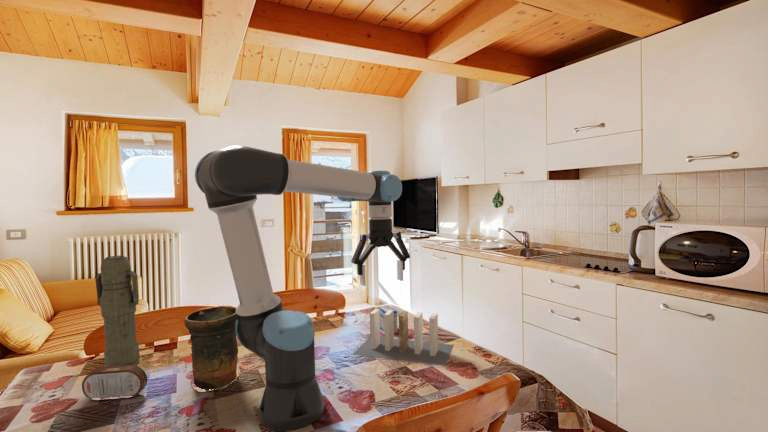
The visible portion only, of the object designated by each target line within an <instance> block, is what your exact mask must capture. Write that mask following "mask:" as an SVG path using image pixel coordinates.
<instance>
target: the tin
mask: <svg viewBox="0 0 768 432" xmlns="http://www.w3.org/2000/svg"><path fill="white" fill-rule="evenodd" d="M81 382H82V383H81V390H82V392H83V394H84V396H85V397H86V398H87V399H89V400H91V399H92V398H109V397H120V396H135V397H136V395H137V396H138V395H139V394H141V392H142V391H143V390H144V389H145V388H146V387H147V383H148V375H147V374H146V372H145V370H144V369H143V368H142V367H140V366H139V367H138V366H134V365H126V366H112V367H106V366H100V367H99V366H98V367H96V368H94V369H92V370H91V371H90V372H89V373H88V374H87V375H86V376H85V377H84V378H83V380H82V381H81Z"/></svg>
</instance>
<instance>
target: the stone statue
mask: <svg viewBox="0 0 768 432" xmlns="http://www.w3.org/2000/svg"><path fill="white" fill-rule="evenodd" d="M131 267H132V265H131V262H130V261H129V259H128V257H127V256H125V255H114V256H113V255H112V256H107V257H105V258H103V259H102V262H101V264H100V269H99V270H100V272H99V273H97V274H96V276H95V287H96V288H95V289H96V296H97V305H98V306H99V307H100V314H101V317H102V318H103V326H104V340H105V348H104V351H103V355H104V365H105V366H104V367H112V366H126V365H134V366H137V365H138V364H139V363H140V357H141V356H140V345H139V342H138V340H137V330H136V328H137V327H136V315H135V313H136V311H137V305H139V297H140V296H139V295H140V294H139V282H138V275H137V272H135V271H133V270H132V268H131Z"/></svg>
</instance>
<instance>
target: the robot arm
mask: <svg viewBox="0 0 768 432" xmlns="http://www.w3.org/2000/svg"><path fill="white" fill-rule="evenodd" d="M194 178H195V179H194V180H195V183H196V185H197V187H198V188H199V189H200V191H201V192H202V193H203V194H204V196H205V200H206V204H207V207H208V210H210V211H211V212H213V213H214V214H216V215H217V220H218V222H219V227H220V228H219V229H220V231H221V235H222V239H223V242H224V246H225V249H226V254H227V258H228V262H229V267H230V270H231V274H232V277H233V278H232V279H233V281H234V285H235V289H236V293H237V296H238V301H239V305H238V306H236V307H237V309H236V315H237V321H236V326H235V330H236V339H237V341H239V342H240V344H241V345H242V346H243V347H244V348H245V349H246V350H248V351H250V352H251V353H253V354H254V355H255V356H257V357H258V358H260V359H261V360H262V361H264V371H265V372H264V373H265V388H264V390H263V393H262V398H261V402H260V404H259V420H260V422H261V424H262V425H263V426H265V427H267V428H268V429H271V430H274V431H275V430H276V431H292V430H297V429H300V428H303V427H304V428H305V427H306V426H309V425H311V424H312V423H314V422H315V421H317V420H318V419H319V418H320V417H321V416H322V414H323V413H324V410H325V400H324V395H323V393H322V392H321V388H320V385H319V383H318V380H317V376H316V356H315V355H316V354H315V334H316V333H315V329H314V322H313V319H312V318H311V317H310V315H308V314H306V313H305V312H302V311H297V310H295V311H294V310H284V306H283V302H282V299H281V297H280V296H279V295H276V294H275V293H274V291H273V285H272V283H271V278H270V274H269V273H270V272H269V270H268V266H267V265H268V264H267V262H266V258H265V254H264V248H263V245H262V240H261V237H260V232H259V228H258V223H257V218H256V216H255V211H254V205H255V204H256V202H257V200H258V197H257V196H259V195H260V196H261V195H273V196H281V195H283V194H284V193H285V192H287V193H288V192H289V193H295V194H296V193H297V194H298V193H299V194H306V195H318V196H326V197H327V196H328V197H335V198H337V199H338V200H339V201H340V202H347V203H351V202H368V217H369V218H370V219H368V227H369V228H368V229H369V230H368V231H369V232H368V234H364V233H361V234H360V235H359V241H358V244H357V247H356V248H355V251H354V254H353V256H352V258H351V263H352V264H354V265H356V269H357V271H356V272H357V275H358V276H359V282H360V283H359V284H360V285H362V286H364V287H365V286H366V265H365V264H364V263H365V262H366V261H367V259H368V257H369V256H370V255H371V253H372V252H373V250H374V249H376V248H381V247H388V248H389V249H390V250H391V251H392V252H393V253H394V255H395V256H396V258H398V259H397V260H396V262H397V263H396V272H397V275H396V276H397V278H396V279H397V280H398V281H404V271H406V270H405V269H406V261H407V260H408V259H410V258H411V255H410V253H409V250H408V249H407V247H406V244H405V242H404V240H403V237H402V233H401V231H394V232H393V220H392V216H393V207H392V202H394V201H397V200H398V199H399V198H400V197H401V196H402V194H403V193H402V192H403V184H402V181H401V178H399V176H397V175H395V174H391V172H390V171H389V170H370V171H368V172H367V171H360V170H355V169H348V168H341V167H336V166H329V165H323V164H317V163H311V162H304V161H299V160H294V159H288V157H287V156H286V154H283V153H279V152H277V153H276V152H273V151H268V150H263V149H259V148H256V147H252V146H245V145H231V146H227V147H225V148H220V149H219V148H218V149H215V150H214V149H213V150H211V151H210V152H208V153H206V154H205V155H204V156H203V157H202V158H200V160H199V161H198V163H197V164H196V166H195V170H194ZM392 239H395V241H396V245H398V247H399V249H400V250H399V249H398V248H397V247H396V245H395V243H394V242H393V241H392ZM368 240H369V243H368V244H367V247H366V248H365V245H366V243H367V241H368ZM364 248H365V250H364Z"/></svg>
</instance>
